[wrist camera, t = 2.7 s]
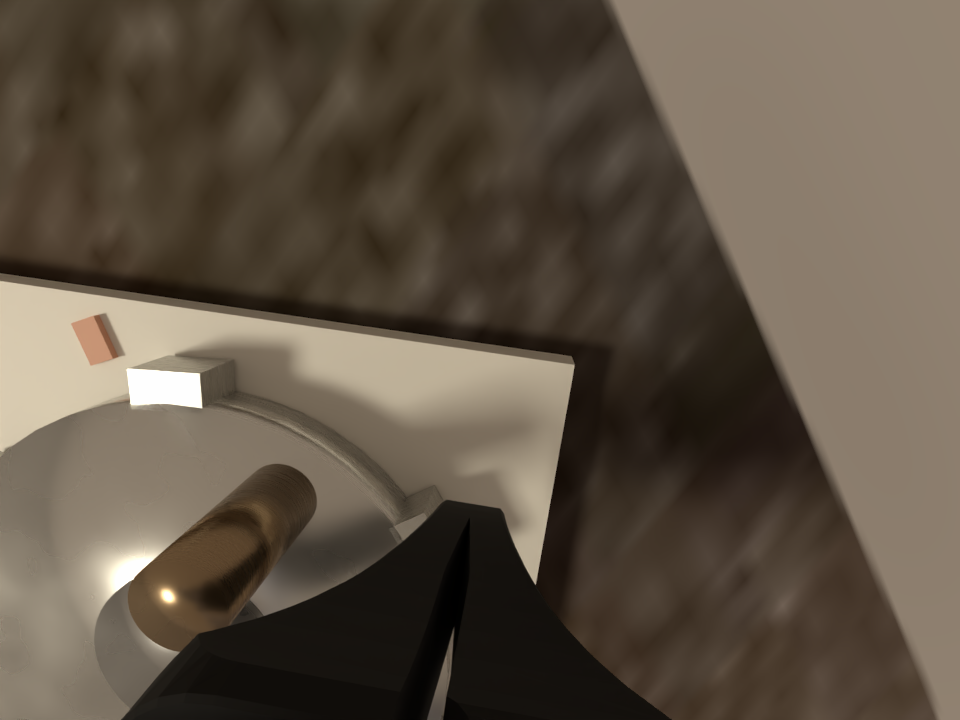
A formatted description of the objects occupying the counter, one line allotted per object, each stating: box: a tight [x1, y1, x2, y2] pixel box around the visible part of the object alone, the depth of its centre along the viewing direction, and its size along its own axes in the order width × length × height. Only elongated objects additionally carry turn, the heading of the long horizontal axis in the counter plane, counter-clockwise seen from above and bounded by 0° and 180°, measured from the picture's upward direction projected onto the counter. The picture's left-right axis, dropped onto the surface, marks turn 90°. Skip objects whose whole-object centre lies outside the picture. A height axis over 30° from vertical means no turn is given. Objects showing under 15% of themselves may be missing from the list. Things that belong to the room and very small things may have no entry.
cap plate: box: [0, 273, 575, 716], centre depth 16 cm, size 18×18×1 cm
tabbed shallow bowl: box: [0, 355, 454, 720], centre depth 13 cm, size 14×16×6 cm
